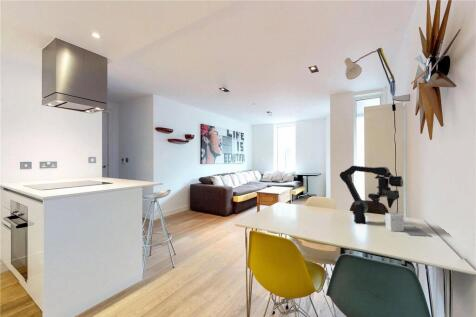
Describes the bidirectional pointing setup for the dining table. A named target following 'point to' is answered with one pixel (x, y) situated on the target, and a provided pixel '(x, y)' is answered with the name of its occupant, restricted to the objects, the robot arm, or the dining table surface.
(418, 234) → the mat
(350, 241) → the dining table surface
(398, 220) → the small box
